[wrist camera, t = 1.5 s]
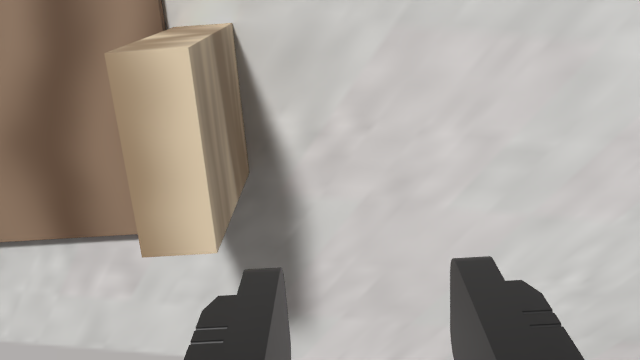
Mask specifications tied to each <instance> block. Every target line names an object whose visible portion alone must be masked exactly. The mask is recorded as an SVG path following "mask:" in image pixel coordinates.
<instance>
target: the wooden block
mask: <svg viewBox="0 0 640 360" xmlns="http://www.w3.org/2000/svg"><path fill="white" fill-rule="evenodd" d="M104 55H105V60H106V65H107V71H108V76H109V82H110V87H111V92H112V98H113V103H114V109H115V114H116V119H117V125H118V130H119V136H120V141H121V146H122V152H123V157H124V163H125V168H126V173H127V179H128V184H129V190H130V195H131V200H132V206H133V211H134V216H135V222H136V227H137V233H138V238H139V243H140V249H141V254H142V257H158V256H176V255H193V254H211V253H217V252H218V250H219V247H220V245H221V242H222V240H223V237H224V235H225V232H226V230H227V227H228V225H229V222H230V220H231V217H232V215H233V212H234V210H235V207H236V205H237V202H238V200H239V197H240V195H241V192H242V190H243V187H244V185H245V182H246V180H247V177H248V175H249V165H248V157H247V148H246V139H245V130H244V122H243V113H242V104H241V96H240V87H239V78H238V70H237V61H236V52H235V44H234V35H233V26H232V23H225V24H212V25H198V26H184V27H173V28H170V29H168V30H165V31H162V32H160V33H157V34H154V35H152V36H149V37H146V38H144V39H141V40H139V41H136V42H133V43H131V44H128V45H125V46H123V47H120V48H117V49H115V50H112V51H109V52H107V53H104Z"/></svg>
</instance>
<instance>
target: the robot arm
mask: <svg viewBox="0 0 640 360" xmlns="http://www.w3.org/2000/svg"><path fill="white" fill-rule="evenodd" d="M450 332H451V344H452V352H453V357H454V360H584V358H583V357H582V355H581V354H580V352H579V350H578V349H577V347H576V346H575V344H574V343H573V341H572V340H571V338H570V336H569V335H568V333H567V332H566V330H565V329H564V327H561V322H560V321H559V319H558V318H557V316H556V315H555V313H553V312H552V308H551V307H550V305H549V304H548V302H547V301H546V299H545V298H544V296H543V294H542V293H540V292H539V291H537V290H536V289H534V288H533V287H531V286H530V285H528V284H527V283H525V282H524V281H522V280H514V281H505V280H504V278H503V276H502V275H501V273H500V271H499V269H498V267H497V266H496V264H495V262H494V260H493V258H492V257H490V256H488V257H470V258H453V259H452V260H451V267H450ZM184 360H291V342H290V331H289V321H288V311H287V301H286V292H285V282H284V274H283V270H282V268H265V269H247V270H244V272H243V276H242V279H241V283H240V286H239V289H238V293H237V295H227V296H218V297H217V298H216V299H214V300H213V301H212V302H211V303H210V304H209V305H208V306H207V307H206V308H205V309H204V310H203V311H202V313H201V315H200V318H199V321H198V323H197V326H196V331H194V334H193V336H192V339H191V345H189V347H188V350H187V352H186V355H185V358H184Z"/></svg>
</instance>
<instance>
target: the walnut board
mask: <svg viewBox="0 0 640 360" xmlns="http://www.w3.org/2000/svg"><path fill="white" fill-rule="evenodd" d="M165 30H166V27H165V21H164V14H163V8H162V1H161V0H0V242H11V241H28V240H45V239H63V238H80V237H97V236H114V235H131V234H138V233H137V227H136V222H135V216H134V211H133V206H132V200H131V195H130V190H129V184H128V179H127V173H126V168H125V163H124V157H123V152H122V146H121V141H120V136H119V130H118V125H117V119H116V114H115V109H114V103H113V98H112V92H111V87H110V82H109V76H108V71H107V65H106V60H105V55H104V53H107V52H109V51H112V50H115V49H117V48H120V47H123V46H125V45H128V44H131V43H133V42H136V41H139V40H141V39H144V38H146V37H149V36H152V35H154V34H157V33H160V32H162V31H165Z"/></svg>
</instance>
